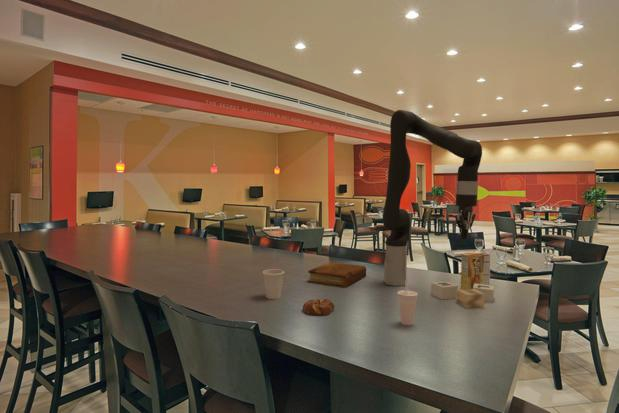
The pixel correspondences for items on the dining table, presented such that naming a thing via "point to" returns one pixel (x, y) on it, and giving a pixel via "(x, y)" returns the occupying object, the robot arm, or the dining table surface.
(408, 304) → the smoothie
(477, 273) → the candy box
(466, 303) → the plain block
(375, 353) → the dining table surface
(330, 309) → the brown braided bread bun
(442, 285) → the marked block
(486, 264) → the syrup box
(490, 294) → the marked block
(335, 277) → the diary
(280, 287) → the dixie cup
